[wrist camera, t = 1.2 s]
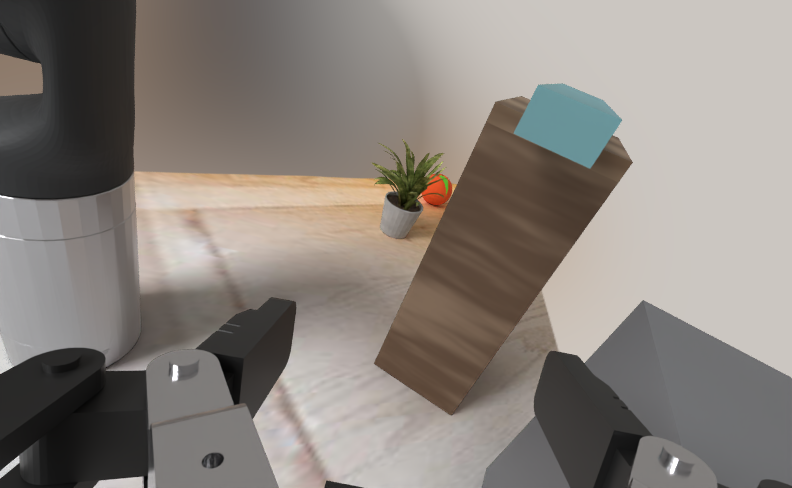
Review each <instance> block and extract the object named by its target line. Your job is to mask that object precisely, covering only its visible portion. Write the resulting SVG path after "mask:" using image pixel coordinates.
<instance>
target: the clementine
mask: <svg viewBox="0 0 792 488" xmlns="http://www.w3.org/2000/svg"><path fill="white" fill-rule="evenodd" d="M434 175H435V174H432V175H431V176H430V178H431V177H433V176H434ZM444 178H446V179H444ZM439 179H443V180H440V181H438V182H436V183H434V184H431V185H430V186H428V187H427V190H425V191H424V192H422V196H423V195H425V194H428V193H439V194H441V195H443V196H444V198H443V197H442V196H440V195H436V194H429V195H425V196H423V198H424V199H425V200H426V201H427V202H428V203H430V204H433V205H440V204H443V203H445V202H446V201H447V200H448V199H449V198H450V196H451V194H452V185H451V182H450V181H449V180H448V178H447V177H446V176H444V175H442V174H439V175H438V176H436V177H435V178H434V179H433V180H431V181H430V182H429V183H431V182H434V181H436V180H439ZM429 183H428V184H429Z"/></svg>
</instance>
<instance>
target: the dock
mask: <svg viewBox="0 0 792 488" xmlns="http://www.w3.org/2000/svg"><path fill="white" fill-rule="evenodd" d="M584 364H585V365H586V366H587V367H588V368H589V370H590V371H591V372H592V373H593V374H594V375H595V376H596V377H598V378H599V379H600V380H602V381H603V382H605V383H606V384H607V385H609V386H610V387H611V389H612V390H613V391H614V392H615V393H616V394H617V395H618V396H619V399H620V400H622V401H623V402H624V403H625V404H626V406H627V407H628V410H631V411H632V412H633V414H634V415H635V416H636V417H637V418H638V419H639V420H640V421H641V423H642V424H643V425H644V426H645V427H646V428H647V429H648V431H649V432H650V433H651V434H652V435H653V436H655V437H660V438H663V439H666V440H669V441H671V442H674V443H676V444H678V445H680V446H682V447H684V448H685V449H687V450H689V451H690V452H692V453H693V454H695V455H696V456H697V457H699V458H700V459H701V460H702V461H703V462H705V463H706V464H707V465H708V466H709V467H710V469H711V470H712V471H713V472H714V474H715V476H716V479H717V483H719V484H721V485H724V486H726V487H729V488H757V487H758V485H759V483H760V481H761V480H764V479H770V480H776V481H779V482H783V483H786V484H788V485H791V486H792V378H791V377H789V376H787V375H785V374H783V373H781V372H780V371H778V370H775V369H774V368H772V367H770V366H768V365H766V364H764V363H762V362H760V361H758V360H757V359H755V358H753V357H751V356H749V355H747V354H745V353H743V352H741V351H739V350H738V349H736V348H734V347H732V346H730V345H728V344H726V343H724V342H722V341H720V340H718V339H716V338H714V337H713V336H711V335H709V334H707V333H705V332H703V331H701V330H699V329H697V328H695V327H693V326H692V325H689V324H688V323H686V322H684V321H682V320H680V319H678V318H676V317H674V316H673V315H671V314H669V313H667V312H665V311H663V310H661V309H659V308H657V307H655V306H653V305H652V304H649V303H648V302H645V301H644V300H643V301H642V302H641V303H640V304H639V305H638V306H637V307H636V308H635V309H634V311H633V312H632V313H631V314H630V315H629V316H628V317H627V318H626V319H625V320H624V321H623V322H622V324H621V325H620V326H619V327H618V328H617V329H616V330H615V331H614V332H613V333H612V334H611V335H610V336H609V338H608V339H607V340H606V341H605V342H604V343H603V344H602V345H601V346H600V347H599V348H598V349H597V351H596V352H595V353H594V354H593V355H592V356H591V357H590V358H589V359H588V360H587V361H586V362H585V363H584ZM482 488H570V486H569V484H568V482H567V480H566V478H565V476H564V474H563V472H562V470H561V468H560V465H559V463H558V461H557V459H556V457H555V455H554V453H553V451H552V449H551V447H550V445H549V443H548V441H547V439H546V436H545V434H544V432H543V430H542V428H541V426H540V424H539V422H538V420H537V418H536V416H535V417H534V418H533V419H532V420H531V421H530V423H529V424H528V425H527V426H526V427H525V428H524V429H523V430H522V431H521V432H520V433H519V434H518V435H517V437H516V438H515V439H514V440H513V441H512V442H511V443H510V444H509V445H508V446H507V447H506V448H505V449H504V451H503V452H502V453H501V454H500V455H499V456H498V457H497V458H496V459H495V460H494V461H493V462H492V463H491V465H490V466H489V467H488V468H487V470H486V473H485V477H484V481H483V485H482Z"/></svg>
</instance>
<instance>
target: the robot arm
mask: <svg viewBox="0 0 792 488" xmlns="http://www.w3.org/2000/svg"><path fill="white" fill-rule="evenodd" d="M135 28H136V0H0V54H4V55H8V56H12V57H16V58H20V59H24V60H28V61H32V62H36V63H40V64H41V65H42V73H43V93H42V94H30V95H13V96H0V335H1V337H2V340H3V343H4V346H5V349H6V352H7V355H8V358H9V360H10V361H11V363H12V364H13V365H14V367H13V368H11V369H9V370H7V371H5V372H4V373H2V374H0V471H1V470H2V469H3V468H4V467H5V466H6V465H7V464H9V463H10V462H11V461H12V460H14V459H15V458H16V457H17V456H19V458H20V463H19V464H18V465H16V466H15V467H14V468H13V469H12V470H10V471H9V472H8V473H7V474H5V475H4V476H3V477H2V478H1V479H0V488H93V487H94V486H95V485H96V484H97V482H98V481H99V480H108V479H119V478H131V477H142V488H279V487H278V484H277V482H276V479H275V476H274V474H273V471H272V469H271V466H270V464H269V461H268V458H267V456H266V453H265V451H264V448H263V446H262V443H261V440H260V438H259V435H258V433H257V430H256V428H255V425H254V422H253V420H252V419H253V418H254V416H255V414H256V413H257V411H258V410H259V408H260V406H261V405H262V403H263V402H264V400H265V399H266V397H267V395H268V394H269V392H270V391H271V389H272V387H273V386H274V384H275V383H276V381H277V380H278V378H279V376H280V375H281V373H282V372H283V370H284V368H285V367H286V364H287V362H288V359H289V356H290V352H291V346H292V338H293V330H294V323H295V315H296V302H295V301H289V300H284V299H279V298H273V297H271V298H270V299H269V300H268V301H267V302H266V303H264V304H263V305H262V306H261V307H260V308H259V309H258V310H253V309H249V310H247V311H244V312H241V313H239V314H236V315H235V316H234V317H232V318H231V319H230V320H229V321H228V322H227V323H226V324H224V325H223V326H222V327H221V328H220V329H219V330H218V331H216V332H215V333H214V334H212V335H211V336H210V337H209V338H208V339H207V340H205V341H204V342H203V343H202V344H201V345H199V346H198V347H197V348H196V349H184V350H177V351H172V352H169V353H166V354H163V355H161V356H159V357H157V358H155V359H154V360H153V361H151V362H150V363H149V365H148V366H147V368H146V370H144V371H105V368H106V367H107V366H109V365H111V364H113V363H114V362H116V361H118V360H119V359H121V358H122V357H123V356H124V355H125V354H127V353H128V352H129V351H130V350H131V349H132V347H133V346H134V345H135V344H136V342H137V340H138V338H139V336H140V332H141V310H140V284H139V262H138V240H137V218H136V202H135V180H134V158H133V145H134V127H135V104H134V103H135V101H134V58H135V57H134V56H135ZM534 411H535V415H536V418H537V420H538V422H539V424H540V426H541V428H542V430H543V432H544V434H545V436H546V439H547V441H548V443H549V445H550V447H551V449H552V451H553V453H554V455H555V457H556V459H557V461H558V463H559V465H560V468H561V470H562V472H563V474H564V476H565V478H566V480H567V482H568V484H569V486H570V488H729V487H726V486H724V485H721V484H719V483H717V479H716V476H715V474H714V472H713V471H712V470H711V469H710V467H709V466H708V465H707V464H706V463H705V462H703V461H702V460H701V459H700V458H699V457H697V456H696V455H695V454H693V453H692V452H690V451H689V450H687V449H685V448H684V447H682V446H680V445H678V444H676V443H674V442H671V441H669V440H666V439H663V438H660V437H655V436H653V435H652V434H651V433H650V432H649V431H648V429H647V428H646V427H645V426H644V425H643V424H642V423H641V421H640V420H639V419H638V418H637V417H636V416H635V415H634V414H633V412H632V411H631V410H628V407H627V406H626V404H625V403H624V402H623V401H622V400H620V399H619V396H618V395H617V394H616V393H615V392H614V391H613V390H612V389H611V387H610V386H609V385H607V384H606V383H605V382H603V381H602V380H600V379H599V378H598V377H596V376H595V375H594V374H593V373H592V372H591V371H590V370H589V368H588V367H587V366H586V365H585V364H584V363H583V361H582V360H581V359H580V358H579V357H578V356H577V355H572V354H567V353H562V352H556V351H550V352H549V353H548V355H547V357H546V360H545V363H544V366H543V370H542V373H541V376H540V380H539V383H538V386H537V390H536V393H535V397H534ZM325 488H362V487H357V486H352V485H347V484H342V483H337V482H331V481H326V484H325ZM757 488H792V486H791V485H788V484H786V483H783V482H779V481H776V480H770V479H764V480H761V481H760V483H759V485H758V487H757Z"/></svg>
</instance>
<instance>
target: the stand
mask: <svg viewBox="0 0 792 488" xmlns="http://www.w3.org/2000/svg"><path fill="white" fill-rule="evenodd" d="M529 102H530V100H529V99H527V98H525V97H522V96H521V97H516V98H511V99H506V100H501V101H497V102H495V104H494V107H493V109H492V111H491V113H490V115H489V117H488V119H487V121H486V124H485V126H484V128H483V130H482V132H481V134H480V136H479V139H478V141H477V143H476V145H475V147H474V149H473V152H472V154H471V156H470V158H469V160H468V162H467V165H466V167H465V169H464V171H463V173H462V175H461V177H460V180H459V182H458V184H457V186H456V188H455V190H454V192H453V195H452V197H451V199H450V201H449V203H448V205H447V207H446V210H445V212H444V214H443V216H442V218H441V220H440V223H439V225H438V227H437V229H436V231H435V233H434V235H433V238H432V240H431V242H430V244H429V246H428V248H427V251H426V253H425V255H424V257H423V259H422V261H421V263H420V266H419V268H418V270H417V272H416V274H415V276H414V279H413V281H412V283H411V285H410V287H409V289H408V291H407V294H406V296H405V298H404V300H403V302H402V304H401V307H400V309H399V311H398V313H397V315H396V317H395V319H394V322H393V324H392V326H391V328H390V330H389V332H388V334H387V337H386V339H385V341H384V343H383V345H382V347H381V350H380V352H379V354H378V356H377V358H376V360H375V362H374V364H375V365H377V366H378V367H380V368H381V369H383V370H384V371H386V372H387V373H388V374H390V375H391V376H393V377H394V378H396V379H397V380H399V381H400V382H402V383H403V384H405V385H406V386H408V387H409V388H411V389H412V390H414V391H415V392H417V393H418V394H420V395H421V396H423V397H424V398H426V399H427V400H429V401H430V402H432V403H433V404H435V405H436V406H438V407H439V408H441V409H442V410H444V411H445V412H447V413H448V414H450V415H452V414H453V412H454V411H455V410H456V408H457V407H458V405H459V404H460V403H461V401H462V400H463V398H464V397H465V396H466V394H467V393H468V391H469V390H470V389H471V387H472V386H473V384H474V383H475V382H476V380H477V379H478V377H479V376H480V375H481V373H482V372H483V370H484V369H485V368H486V366H487V365H488V364H489V362H490V361H491V359H492V358H493V357H494V355H495V354H496V352H497V351H498V350H499V348H500V347H501V345H502V344H503V343H504V341H505V340H506V338H507V337H508V336H509V334H510V333H511V331H512V330H513V329H514V327H515V326H516V324H517V323H518V322H519V320H520V319H521V317H522V316H523V315H524V313H525V312H526V311H527V309H528V308H529V306H530V305H531V304H532V302H533V301H534V299H535V298H536V297H537V295H538V294H539V292H540V291H541V290H542V288H543V287H544V285H545V284H546V282H547V281H548V280H549V278H550V277H551V276H552V274H553V273H554V271H555V270H556V269H557V267H558V266H559V264H560V263H561V262H562V260H563V259H564V257H565V256H566V255H567V253H568V252H569V250H570V249H571V248H572V246H573V245H574V244H575V242H576V241H577V239H578V238H579V237H580V235H581V234H582V232H583V231H584V230H585V228H586V227H587V225H588V224H589V223H590V221H591V220H592V218H593V217H594V216H595V214H596V213H597V212H598V210H599V209H600V207H601V206H602V204H603V203H604V202H605V200H606V199H607V198H608V196H609V195H610V193H611V192H612V191H613V189H614V188H615V186H616V185H617V184H618V182H619V181H620V179H621V178H622V177H623V175H624V174H625V172H626V171H627V170H628V168H629V167H630V165H631V164H632V163H633V162H632V160H631V159H630V157H629V155H628V154H627V152H626V150H625V148H624V147H623V145H622V143H621V142H620V140H619V138H617V137H615V136H613V135H612V137H611V138H610V140H609V141H608V143H607V144H606V146H605V147H604V149H603V150H602V152H601V153H600V155H599V156H598V158H597V159H596V161H595V162H594V164H593V165H592V167H591V168H587V167H585V166H583V165H581V164H579V163H577V162H574V161H572V160H570V159H568V158H566V157H563V156H561V155H559V154H557V153H555V152H553V151H550V150H548V149H546V148H544V147H542V146H539V145H537V144H535V143H533V142H531V141H529V140H526V139H524V138H522V137H520V136H518V135H515V134H513V133H514V131H515V129H516V127H517V125H518V123H519V121H520V120H521V118H522V116H523V114H524V112H525V110H526V108H527V106H528V104H529Z"/></svg>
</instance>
